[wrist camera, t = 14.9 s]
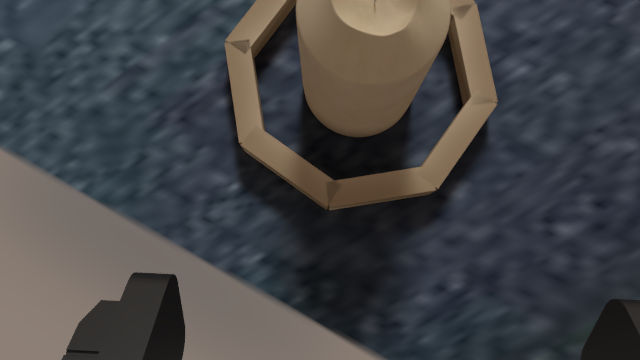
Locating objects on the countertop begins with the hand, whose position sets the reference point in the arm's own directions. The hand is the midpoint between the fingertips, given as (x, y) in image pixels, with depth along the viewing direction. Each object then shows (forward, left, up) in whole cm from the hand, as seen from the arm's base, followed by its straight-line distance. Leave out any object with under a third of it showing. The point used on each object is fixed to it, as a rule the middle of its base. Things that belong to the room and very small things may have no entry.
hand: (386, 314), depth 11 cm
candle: (+2, +10, -17) cm, 19 cm away
